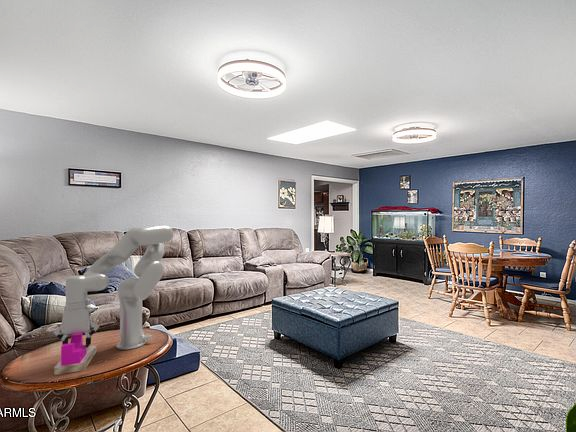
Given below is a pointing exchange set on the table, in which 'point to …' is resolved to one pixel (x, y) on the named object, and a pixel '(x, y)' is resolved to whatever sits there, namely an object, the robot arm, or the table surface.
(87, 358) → the plinth
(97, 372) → the table surface
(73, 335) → the toy block
